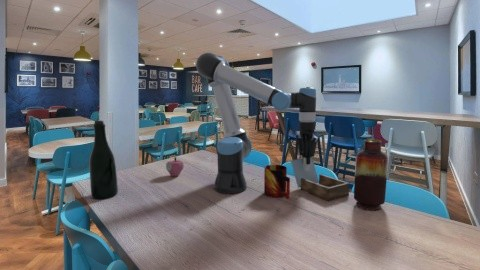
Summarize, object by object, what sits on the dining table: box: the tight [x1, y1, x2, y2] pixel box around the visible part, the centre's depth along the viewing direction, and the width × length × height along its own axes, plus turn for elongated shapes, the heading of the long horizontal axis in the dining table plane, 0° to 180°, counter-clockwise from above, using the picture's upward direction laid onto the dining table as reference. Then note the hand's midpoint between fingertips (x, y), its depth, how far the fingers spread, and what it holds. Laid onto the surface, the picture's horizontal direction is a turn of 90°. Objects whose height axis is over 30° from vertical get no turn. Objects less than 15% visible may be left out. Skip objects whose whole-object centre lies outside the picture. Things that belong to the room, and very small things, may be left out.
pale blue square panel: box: [290, 157, 319, 189], centre depth 129 cm, size 13×13×1 cm
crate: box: [300, 173, 350, 202], centre depth 119 cm, size 16×13×6 cm
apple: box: [165, 157, 185, 177], centre depth 145 cm, size 10×9×10 cm
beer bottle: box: [88, 120, 119, 200], centre depth 116 cm, size 10×10×33 cm
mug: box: [263, 164, 291, 200], centre depth 117 cm, size 10×14×12 cm
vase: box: [353, 138, 389, 212], centre depth 103 cm, size 11×11×26 cm
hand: (306, 170), depth 128 cm, fingers closed
